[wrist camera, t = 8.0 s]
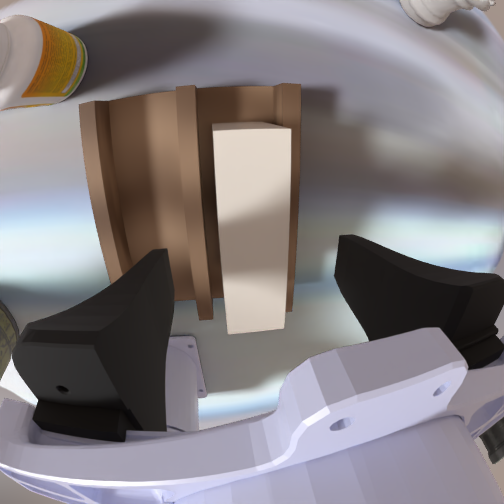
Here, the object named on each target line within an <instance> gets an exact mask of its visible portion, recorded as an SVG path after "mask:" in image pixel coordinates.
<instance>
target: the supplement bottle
mask: <svg viewBox="0 0 504 504" xmlns="http://www.w3.org/2000/svg"><path fill="white" fill-rule="evenodd" d="M87 61H88V57H87V50H86V47H85V45H84V43H83V42H82V41H81V40H80V39H79V38H78V37H77V36H75V35H73V34H71V33H68V32H66V31H64V30H61V29H59V28H56V27H54V26H52V25H49V24H47V23H44V22H42V21H39V20H37V19H34V18H32V17H28V16H24V15H13V16H9V17H6V18H4V19H2V20H0V111H3V110H9V109H17V108H27V107H38V106H48V105H53V104H57V103H59V102H61V101H63V100H65V99H66V98H67V97H69V96H70V95H71V94H72V93H73V92H74V91H75V90H76V88H77V87H78V86H79V84H80V82H81V81H82V79H83V77H84V74H85V71H86V68H87Z"/></svg>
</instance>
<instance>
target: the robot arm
mask: <svg viewBox="0 0 504 504" xmlns="http://www.w3.org/2000/svg"><path fill="white" fill-rule="evenodd" d="M334 277H335V279H336V282H337V284H338V287H339V289H340V291H341V293H342V295H343V297H344V298H345V300H346V302H347V303H348V305H349V307H350V308H351V310H352V311H353V313H354V315H355V316H356V318H357V320H358V321H359V323H360V324H361V326H362V328H363V329H364V331H365V333H366V335H367V337H368V339H369V341H370V342H365V343H360V344H356V345H351V346H346V347H341V348H336V349H332V350H329V351H326V352H323V353H320V354H318V355H315V356H312V357H309V358H308V359H307V360H305V361H304V362H303V363H301V364H300V365H299V366H297V367H296V368H294V369H293V370H292V371H291V372H290V373H288V375H287V377H286V379H285V381H284V383H283V385H282V387H281V388H280V393H279V403H278V407H277V410H274V411H271V412H268V413H264V414H261V415H258V416H254V417H251V418H247V419H244V420H240V421H237V422H233V423H229V424H225V425H221V426H217V427H212V428H208V429H204V430H199V415H198V398H205V397H207V391H206V387H205V382H204V378H203V373H202V369H201V364H200V359H199V355H198V350H197V345H196V340H195V338H194V337H192V336H179V337H169V336H170V330H171V325H172V319H173V313H174V298H175V289H174V284H173V278H172V273H171V267H170V261H169V255H168V249H167V248H164V249H153V250H151V251H150V252H149V253H148V254H146V255H145V256H144V257H143V258H142V259H141V260H140V261H139V262H138V263H136V264H135V265H134V266H133V267H132V268H131V269H130V270H129V271H127V272H126V273H125V274H124V275H122V276H121V277H120V278H119V279H118V280H116V281H115V282H114V283H112V284H111V285H110V286H108V287H107V288H105V289H104V290H102V291H101V292H99V293H98V294H96V295H95V296H93V297H91V298H89V299H87V300H86V301H84V302H82V303H80V304H78V305H76V306H74V307H72V308H70V309H68V310H65V311H63V312H61V313H58V314H56V315H53V316H50V317H47V318H44V319H41V320H38V321H34V322H31V323H28V324H27V325H26V327H25V329H24V331H23V332H22V334H21V336H20V338H19V339H18V341H17V343H16V345H15V347H14V349H13V350H12V359H13V362H14V366H15V368H16V370H17V371H18V373H19V375H20V376H21V378H22V379H23V380H24V382H25V383H26V384H27V386H28V387H29V388H30V390H31V391H32V392H33V394H34V395H35V396H36V398H37V399H38V403H37V406H36V408H35V407H33V406H32V405H30V404H27V403H25V402H20V401H16V400H12V399H8V398H4V399H3V402H2V404H1V407H0V471H1V472H3V473H4V474H6V475H7V476H8V477H10V478H11V479H13V480H14V481H16V482H17V483H19V484H20V485H22V486H23V487H25V488H27V489H28V490H30V491H33V492H35V493H38V494H40V495H43V496H46V497H49V498H52V499H55V500H58V501H61V502H64V503H67V504H504V496H503V494H502V492H501V490H500V488H499V486H498V484H497V482H496V480H495V478H494V476H493V474H492V472H491V470H490V468H489V466H488V465H487V463H486V461H485V459H484V457H483V455H482V454H481V452H480V450H479V448H478V446H477V445H476V443H475V442H474V439H476V438H477V437H478V436H480V435H481V434H482V433H484V432H485V431H486V430H488V429H489V428H490V427H491V426H493V425H494V424H495V423H496V422H498V421H499V420H500V419H501V418H503V417H504V336H503V337H502V338H501V339H499V338H498V337H497V336H496V334H497V333H498V328H496V326H495V325H494V324H495V322H496V320H497V318H498V316H499V313H500V311H501V309H502V307H503V305H504V279H502V278H501V277H500V276H499V275H497V274H492V273H475V272H467V271H459V270H454V269H449V268H444V267H440V266H436V265H432V264H429V263H425V262H422V261H419V260H416V259H413V258H410V257H408V256H405V255H403V254H400V253H398V252H395V251H393V250H390V249H388V248H386V247H383V246H381V245H379V244H377V243H374V242H372V241H370V240H367V239H365V238H362V237H359V236H356V235H339V244H338V252H337V259H336V267H335V274H334ZM190 344H191V345H190Z"/></svg>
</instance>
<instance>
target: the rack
mask: <svg viewBox="0 0 504 504" xmlns="http://www.w3.org/2000/svg"><path fill="white" fill-rule="evenodd" d="M79 115H80V128H81V138H82V147H83V155H84V162H85V169H86V176H87V182H88V188H89V194H90V199H91V204H92V210H93V214H94V219H95V224H96V228H97V233H98V237H99V241H100V245H101V249H102V253H103V257H104V261H105V264H106V268H107V272H108V275H109V279H110V282H111V284H112V283H114V282H115V281H116V280H118V279H119V278H120V277H121V276H122V275H124V274H125V273H126V272H127V271H129V270H130V269H131V268H132V267H133V266H134V265H135V264H136V263H138V262H139V261H140V260H141V259H142V258H143V257H144V256H145V255H146V254H148V253H149V252H150V251H151V250H153V249H164V248H167V249H168V255H169V261H170V267H171V273H172V278H173V284H174V289H175V298H174V301H183V300H196V303H197V310H198V316H199V320H212V319H213V299H212V298H223V297H224V291H223V280H222V269H221V257H220V245H219V231H218V217H217V203H216V187H215V170H214V151H213V130H212V124H213V123H230V122H266V123H270V124H274V125H278V126H282V127H286V128H290V129H291V185H290V222H289V249H288V271H287V291H286V308H285V312H292V305H293V292H294V279H295V264H296V247H297V229H298V208H299V182H300V143H301V84H291V83H282V84H279V85H276V86H237V87H213V88H198V89H197V88H196V86H195V85H189V86H179V87H176V91H168V92H160V93H152V94H146V95H139V96H133V97H128V98H122V99H117V100H112V101H91V102H87V103H83V104H79Z"/></svg>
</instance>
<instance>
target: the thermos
mask: <svg viewBox="0 0 504 504" xmlns="http://www.w3.org/2000/svg"><path fill="white" fill-rule="evenodd" d="M18 339H19V331H18V327H17V325H16V323H15V320H14V318H13V317H12V315H11V314H10V312H9V311H8V309H7V308H6V307H5V305H4V304H3V303H2V302H1V301H0V380H1V378H2V376H3V374H4V372H5V370H6V368H7V366H8V364H9V362H10V359H11V354H12V350H13V349H14V347H15V345H16V343H17V341H18Z"/></svg>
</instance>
